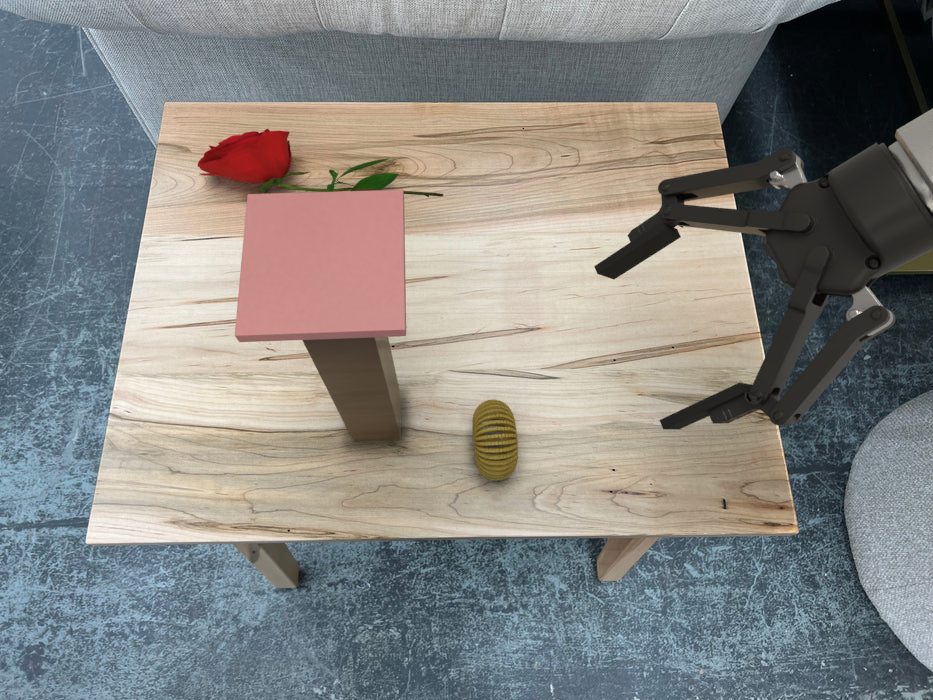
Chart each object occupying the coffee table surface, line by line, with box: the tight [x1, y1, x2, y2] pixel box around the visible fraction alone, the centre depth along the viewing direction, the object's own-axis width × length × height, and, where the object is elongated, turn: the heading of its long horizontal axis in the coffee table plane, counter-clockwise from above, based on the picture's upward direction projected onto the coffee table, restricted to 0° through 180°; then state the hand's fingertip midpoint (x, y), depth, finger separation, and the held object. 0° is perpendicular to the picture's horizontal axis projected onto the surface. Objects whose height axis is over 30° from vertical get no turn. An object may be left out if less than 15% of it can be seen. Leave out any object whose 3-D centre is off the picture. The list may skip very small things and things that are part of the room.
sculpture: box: [472, 399, 519, 482], centre depth 68 cm, size 8×4×8 cm, turn 5°
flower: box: [197, 128, 444, 198], centre depth 80 cm, size 9×10×30 cm
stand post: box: [301, 337, 402, 443], centre depth 58 cm, size 5×5×32 cm
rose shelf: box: [234, 189, 407, 343], centre depth 43 cm, size 10×10×1 cm
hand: (634, 345), depth 54 cm, fingers open, 13 cm apart
